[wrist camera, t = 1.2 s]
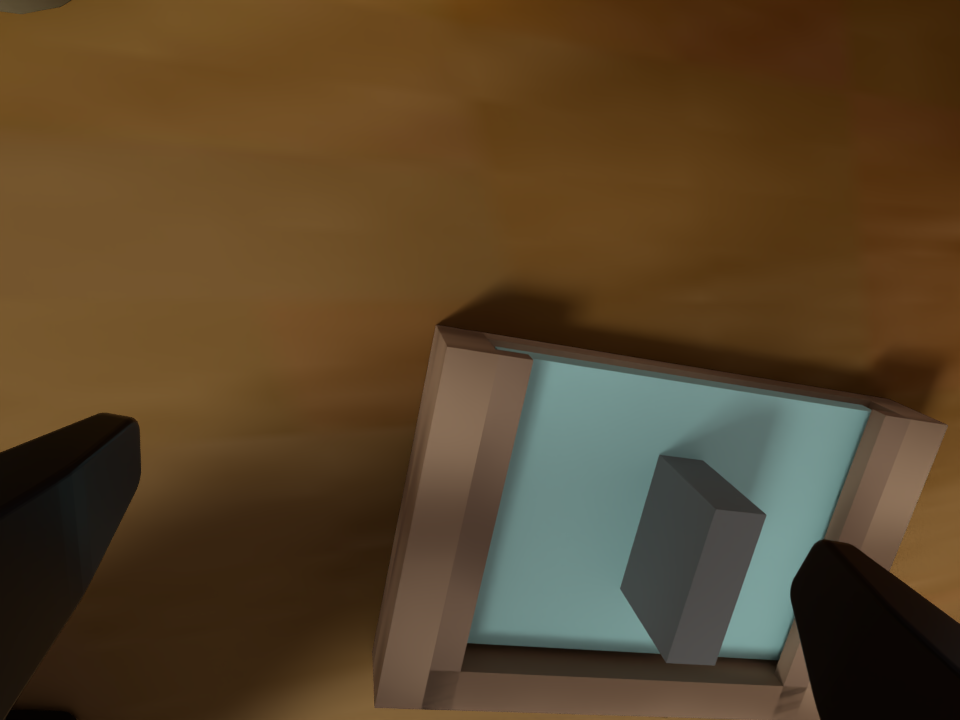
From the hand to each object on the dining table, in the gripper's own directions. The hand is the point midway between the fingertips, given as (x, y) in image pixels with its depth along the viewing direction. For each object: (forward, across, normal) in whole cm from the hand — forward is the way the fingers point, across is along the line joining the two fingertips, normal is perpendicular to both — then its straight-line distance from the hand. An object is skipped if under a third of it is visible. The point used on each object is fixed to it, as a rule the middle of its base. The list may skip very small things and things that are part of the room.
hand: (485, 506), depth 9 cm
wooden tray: (+12, -7, +9) cm, 17 cm away
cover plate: (+11, -8, +8) cm, 16 cm away
